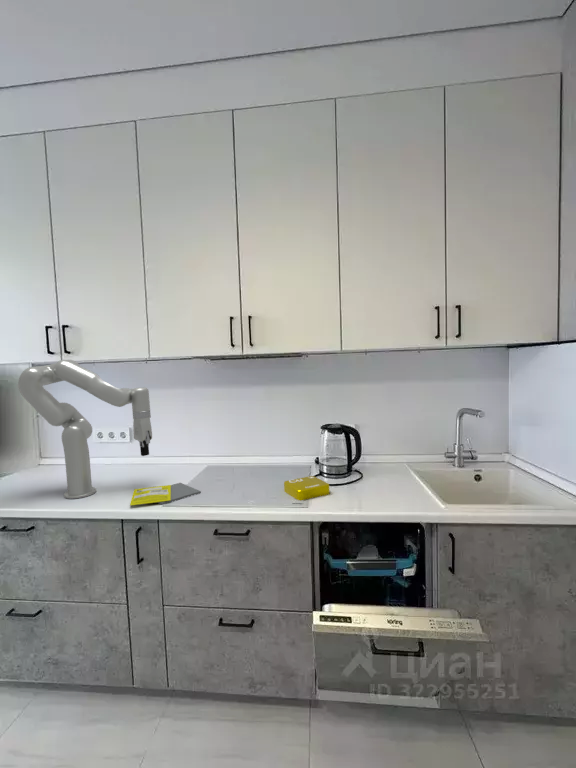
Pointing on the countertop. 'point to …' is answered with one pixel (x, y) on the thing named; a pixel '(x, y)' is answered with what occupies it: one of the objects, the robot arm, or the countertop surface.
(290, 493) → the element tile
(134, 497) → the food package
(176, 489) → the mat
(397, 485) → the countertop surface
